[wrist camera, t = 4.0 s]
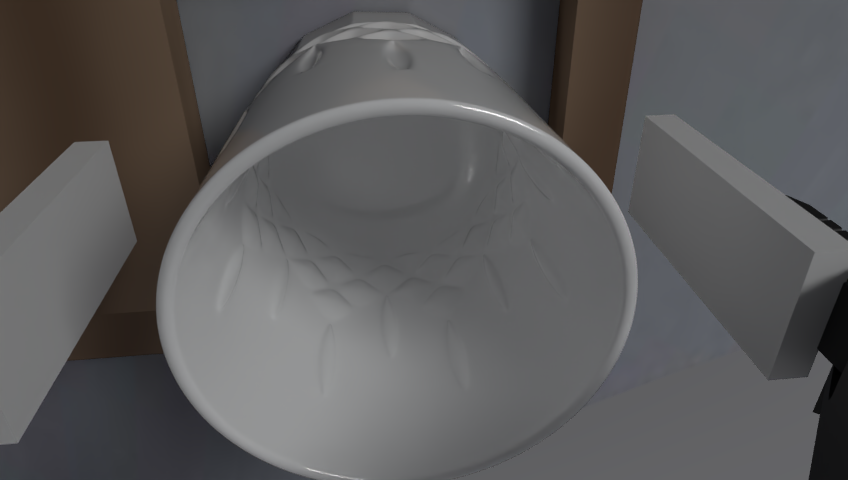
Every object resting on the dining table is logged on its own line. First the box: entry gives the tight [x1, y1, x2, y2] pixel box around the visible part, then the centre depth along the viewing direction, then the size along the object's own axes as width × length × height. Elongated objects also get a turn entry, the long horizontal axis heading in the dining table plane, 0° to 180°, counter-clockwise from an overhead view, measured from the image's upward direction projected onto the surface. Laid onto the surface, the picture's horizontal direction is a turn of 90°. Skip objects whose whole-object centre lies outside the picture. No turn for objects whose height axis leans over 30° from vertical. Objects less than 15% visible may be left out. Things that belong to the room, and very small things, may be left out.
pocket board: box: [0, 0, 643, 361], centre depth 18 cm, size 20×14×2 cm
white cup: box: [156, 11, 638, 480], centre depth 14 cm, size 8×8×10 cm
